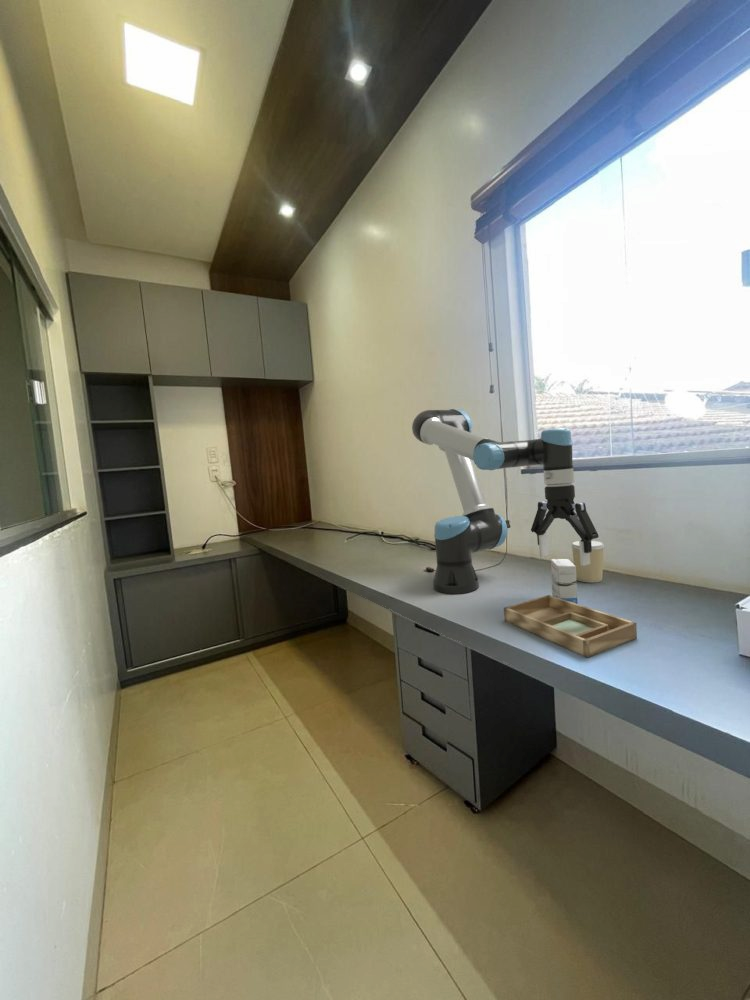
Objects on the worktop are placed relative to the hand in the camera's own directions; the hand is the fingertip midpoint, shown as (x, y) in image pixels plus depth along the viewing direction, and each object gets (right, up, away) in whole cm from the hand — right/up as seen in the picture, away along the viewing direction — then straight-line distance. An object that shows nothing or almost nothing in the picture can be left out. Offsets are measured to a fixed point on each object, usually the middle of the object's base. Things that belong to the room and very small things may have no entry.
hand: (563, 560), depth 111 cm
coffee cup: (+18, -9, +20) cm, 28 cm away
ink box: (+1, -12, +1) cm, 13 cm away
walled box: (-7, -14, -15) cm, 22 cm away
